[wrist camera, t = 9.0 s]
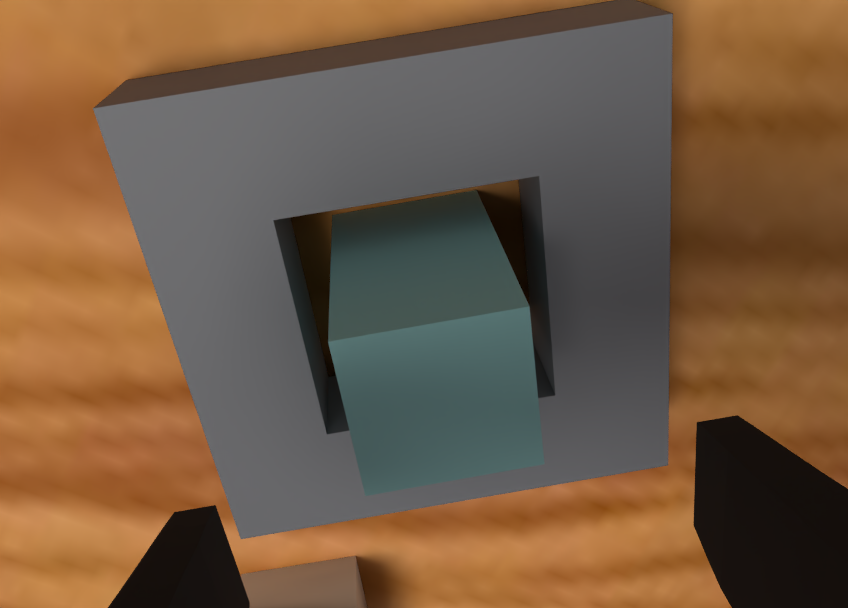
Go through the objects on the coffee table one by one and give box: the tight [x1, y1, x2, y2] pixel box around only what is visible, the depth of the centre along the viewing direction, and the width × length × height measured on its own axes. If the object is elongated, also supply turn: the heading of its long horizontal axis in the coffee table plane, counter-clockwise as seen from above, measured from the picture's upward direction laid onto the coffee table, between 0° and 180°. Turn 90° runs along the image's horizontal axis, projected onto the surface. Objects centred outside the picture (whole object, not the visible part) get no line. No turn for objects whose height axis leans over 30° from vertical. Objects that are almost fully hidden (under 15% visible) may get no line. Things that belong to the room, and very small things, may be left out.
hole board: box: [93, 0, 673, 539], centre depth 18 cm, size 11×11×2 cm
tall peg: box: [328, 190, 544, 496], centre depth 17 cm, size 4×4×6 cm
